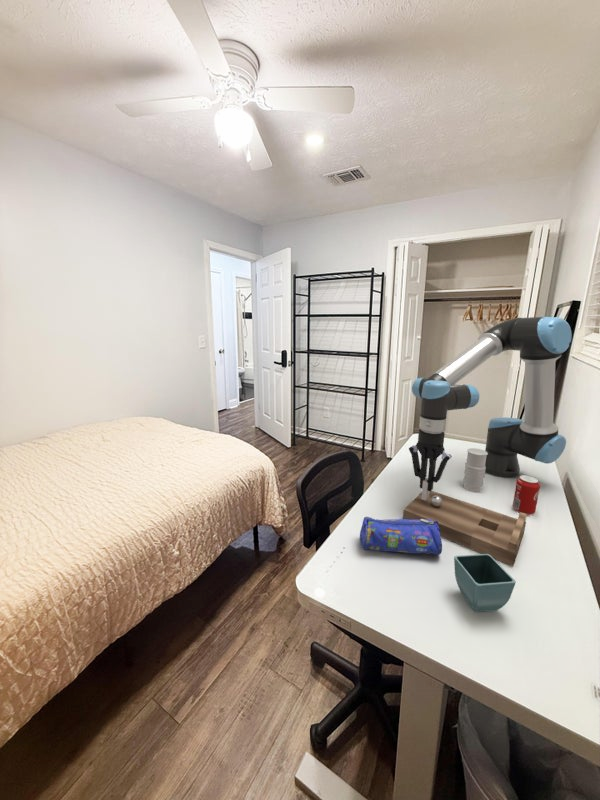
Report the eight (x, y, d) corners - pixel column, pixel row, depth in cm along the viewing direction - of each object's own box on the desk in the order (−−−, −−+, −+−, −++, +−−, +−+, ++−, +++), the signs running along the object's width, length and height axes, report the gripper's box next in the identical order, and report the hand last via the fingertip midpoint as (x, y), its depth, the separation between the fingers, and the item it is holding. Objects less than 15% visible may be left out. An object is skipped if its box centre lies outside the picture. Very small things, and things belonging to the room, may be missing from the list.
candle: (463, 490, 120) (468, 453, 117) (461, 482, 126) (466, 447, 123) (483, 494, 118) (489, 456, 114) (481, 485, 124) (486, 449, 121)
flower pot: (448, 587, 75) (453, 555, 73) (484, 585, 76) (489, 553, 74) (471, 621, 67) (476, 585, 65) (510, 618, 68) (517, 582, 66)
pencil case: (435, 541, 92) (438, 512, 90) (445, 562, 84) (449, 531, 82) (358, 536, 94) (359, 507, 92) (360, 557, 86) (362, 525, 84)
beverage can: (538, 518, 103) (545, 484, 100) (517, 515, 104) (522, 482, 102) (529, 507, 109) (534, 475, 106) (508, 505, 110) (514, 473, 108)
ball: (432, 501, 105) (433, 492, 104) (443, 505, 103) (444, 495, 102) (428, 506, 102) (429, 496, 102) (439, 510, 100) (440, 500, 99)
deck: (424, 498, 115) (425, 482, 113) (523, 533, 95) (527, 514, 94) (402, 520, 102) (404, 502, 100) (513, 566, 82) (517, 544, 81)
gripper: (406, 428, 101) (401, 495, 106) (449, 437, 92) (441, 510, 98) (416, 423, 106) (410, 487, 112) (457, 431, 98) (449, 500, 103)
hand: (425, 498), depth 105 cm, fingers closed
